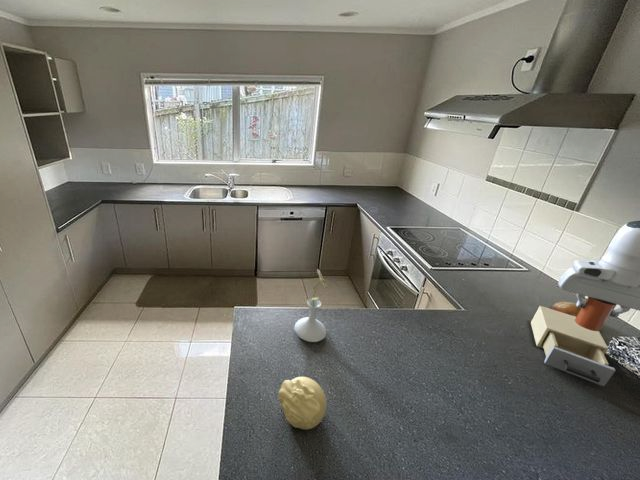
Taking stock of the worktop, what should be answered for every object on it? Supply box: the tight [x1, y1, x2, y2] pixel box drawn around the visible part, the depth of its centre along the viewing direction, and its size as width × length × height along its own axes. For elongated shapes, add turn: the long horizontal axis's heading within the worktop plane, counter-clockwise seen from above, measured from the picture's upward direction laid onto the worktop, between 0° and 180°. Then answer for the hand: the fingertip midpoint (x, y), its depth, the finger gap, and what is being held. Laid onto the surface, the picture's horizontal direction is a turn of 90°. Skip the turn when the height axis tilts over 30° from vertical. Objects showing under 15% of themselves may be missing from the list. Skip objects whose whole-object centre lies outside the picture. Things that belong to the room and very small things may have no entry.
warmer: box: [530, 305, 609, 356], centre depth 101 cm, size 16×15×9 cm
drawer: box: [542, 331, 616, 387], centre depth 92 cm, size 19×13×7 cm
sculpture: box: [277, 376, 327, 430], centre depth 73 cm, size 12×12×11 cm
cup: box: [575, 297, 618, 332], centre depth 88 cm, size 6×6×10 cm
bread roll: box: [551, 301, 581, 317], centre depth 116 cm, size 10×10×8 cm
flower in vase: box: [294, 269, 329, 343], centre depth 99 cm, size 13×11×25 cm
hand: (595, 311), depth 87 cm, fingers closed on cup, 5 cm apart
